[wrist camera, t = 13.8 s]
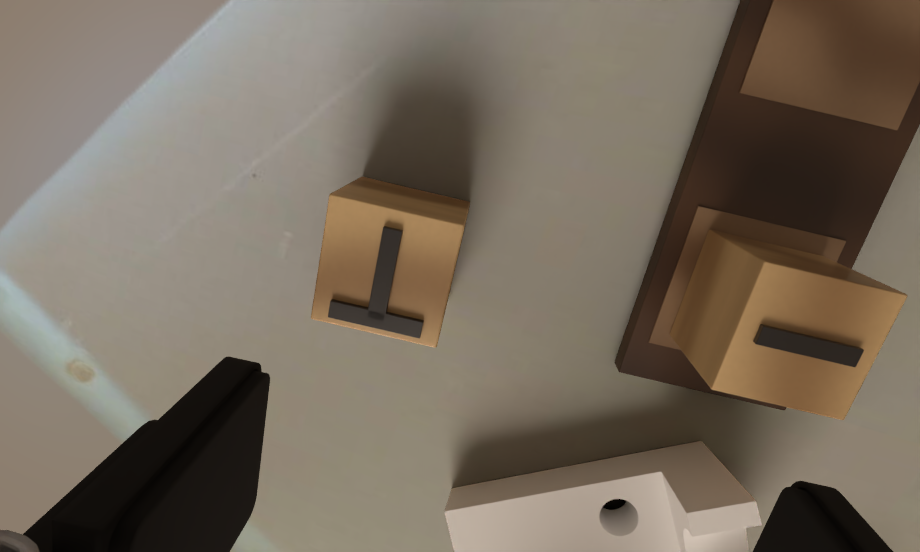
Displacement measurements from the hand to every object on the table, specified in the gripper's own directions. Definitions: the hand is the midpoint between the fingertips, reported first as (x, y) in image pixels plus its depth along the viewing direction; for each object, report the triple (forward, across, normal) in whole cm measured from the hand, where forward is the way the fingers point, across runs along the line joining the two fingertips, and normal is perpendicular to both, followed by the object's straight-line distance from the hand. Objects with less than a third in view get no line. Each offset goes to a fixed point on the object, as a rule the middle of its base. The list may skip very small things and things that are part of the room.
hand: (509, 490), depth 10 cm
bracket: (+16, -8, +12) cm, 22 cm away
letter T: (+16, +4, 0) cm, 17 cm away
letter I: (+15, -11, -1) cm, 18 cm away
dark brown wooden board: (+16, -11, -6) cm, 20 cm away
